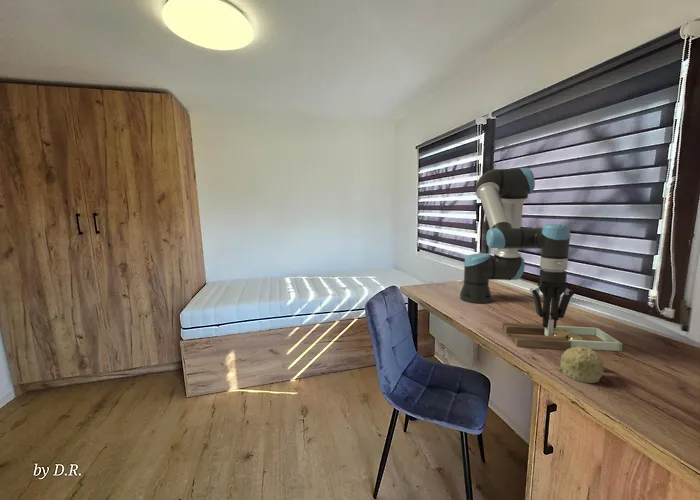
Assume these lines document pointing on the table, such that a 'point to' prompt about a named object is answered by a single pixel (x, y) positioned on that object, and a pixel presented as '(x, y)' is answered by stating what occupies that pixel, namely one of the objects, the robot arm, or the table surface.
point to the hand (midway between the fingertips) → (548, 336)
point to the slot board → (534, 336)
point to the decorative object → (582, 364)
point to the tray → (595, 345)
